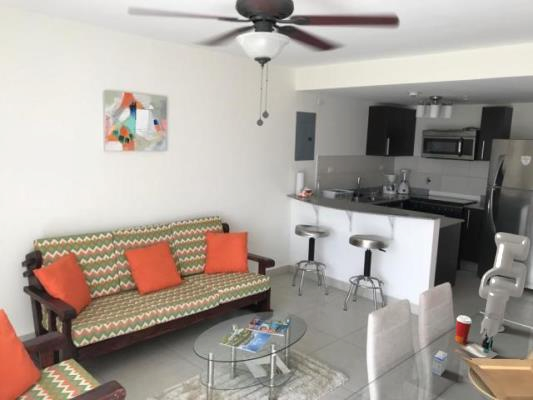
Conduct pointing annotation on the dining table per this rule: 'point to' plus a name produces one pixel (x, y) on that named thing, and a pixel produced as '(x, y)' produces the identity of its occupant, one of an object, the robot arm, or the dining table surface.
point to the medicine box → (439, 363)
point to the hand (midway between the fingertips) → (486, 347)
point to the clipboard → (472, 350)
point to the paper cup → (462, 329)
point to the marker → (489, 346)
